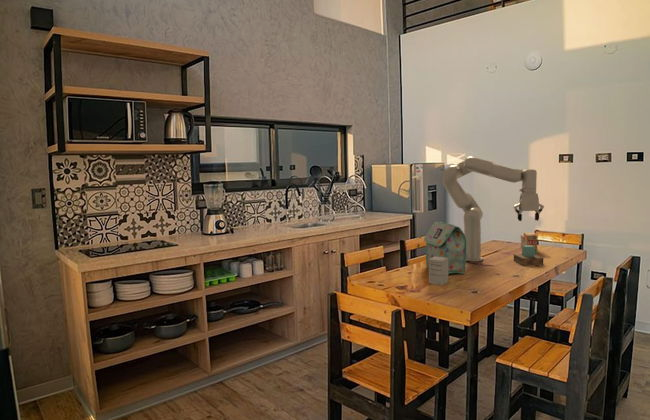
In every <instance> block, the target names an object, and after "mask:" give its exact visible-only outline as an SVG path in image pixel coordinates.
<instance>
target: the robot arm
mask: <svg viewBox="0 0 650 420" xmlns="http://www.w3.org/2000/svg"><path fill="white" fill-rule="evenodd" d="M472 172H473V173H477V174H481V175H484V176H487V177H490V178H495V179H498V180H501V181H506V182H509V183H513V184H514V183H518V182H521V188H520V189H519V192H521V193H520V195H519V200H518V201H519V202H518V203H517V204H515V205H514V206H513V207H512V208H513V209H514V212H515V213H516V214H517V219H518V221H519V222H522V220H523V214H522V213H523V212H533V211H534V212H535V213H534V221H539V219H540V214H541V213H542V211H543V209H544V208H545V206H544V205H543V204H541V203H540V199H539V194H538V193H537V179H538V178H537V177H538V174H537V170H536V169H534V168H533V169H529V168H528V169H517V168H510V167H508V166H503V165H501V164H498V163H496V162H493V161H489V160H487V159H483V158H482V159H481V158H479V157H476V156H468V157H466V158H465V159H464V160H462V161H461V162H459V163H456V164H455V165H454V164H453V165H450V166H448V167H447V168H446V169H445V170H444V172H443V173H442V184H443V186H444V188H445V190H446V191H447V193H448V194H449V196H450V198H451V199H452V201H453V203H454V204H455V205H456V207H457V208H458V209H461V210H462V211H463V212H464V214H463V228H464V230H463V233H464V234H465V237H466V242H467V248H466V262H481V261H484V257H482V256H481V255H482V254H481V253H482V251H481V247H482V246H481V245H482V244H481V242H482V241H481V240H482V239H481V237H482V236H481V235H482V231H481V229H482V227H481V226H482V225H481V220H482V219H483V215H484V214H483V211H482V209H481V207H480V206H479V204H478V203H477V201H476V200H475V198H474V197H473V196H472V195H471V194H470V193H469V192H466V191H465V190H464V189H463V187H462V186H461V184H460V183H459V181H458V179H460V178H463V177H464V176H466V175H469V174H470V173H472Z"/></svg>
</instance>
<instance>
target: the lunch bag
mask: <svg viewBox="0 0 650 420" xmlns="http://www.w3.org/2000/svg"><path fill="white" fill-rule="evenodd" d="M423 241H424V242H425V243H426V245H425V246H426V249H425V267H426V268H428V269H429V259H430V258H433V257H444V258H448V275H450V274H466V263H467V261H466V248H467V242H466V237H465V234H464V230H462V229H461V227H459V226H458V225H457V226H456V225H455V224H450V223H446V222H443V221H440V220H439V221H434V222H433V223H432V225H431V226H430V227H429V229H428V230H427V232H426V234H425V236H424V238H423Z"/></svg>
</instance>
